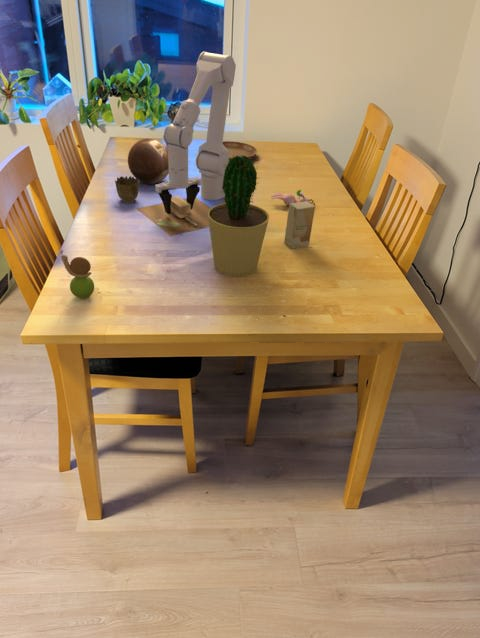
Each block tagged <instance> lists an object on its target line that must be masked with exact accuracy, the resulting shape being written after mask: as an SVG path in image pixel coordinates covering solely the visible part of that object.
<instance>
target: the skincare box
mask: <svg viewBox="0 0 480 638" xmlns="http://www.w3.org/2000/svg"><path fill="white" fill-rule="evenodd" d="M315 209H316V205H315V206H314V204H313V203H312V204H311V203H309V202H308V201H305V202H297V203H290V204H289V205H288V210H287V212H288V213H287V217H286V219H287V220H286V224H285V225H286V227H285V233H284V241H283V242H284V244H285V245H286V246H288V247H289V248H290V249H297V248H298V249H299V248H304V247H309V246H308V245H310V240H311V235H312V227H313V223H314V222H313V221H314V217H315V216H314V215H315Z"/></svg>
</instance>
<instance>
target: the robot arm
mask: <svg viewBox="0 0 480 638" xmlns="http://www.w3.org/2000/svg"><path fill="white" fill-rule="evenodd" d="M236 67H237V65H236V62H235V60H234V57H233V56H232V55H231V54H229V55H225V54H219V53H212V52H207V51H202V52H201V53H200V54H199V56H198V58H197V62H196V77H195V79H194V82H193V85H192V87H191V91H190V93H189V95H188V98H187V99H186V100H183V101H181V103H180V105H179V108H178V111H177V112H176V115H175V116H174V119H173V121H172V123H170V124H168V125H167V126H166V127H165V129H164V131H163V136H162V138H163V142H164V143H165V146H166V149H167V150H168V164H169V174H168V180H166V181H162V182H161V183H160V182H159V183H158V184H157V183H155V186H154V187H155V192H156V193H157V194H158V196H159V197H160V199H161V202H162V203H163V205H164V208H165V212H166V213H167V214H171V198H172V197H173V195H172V194H171V193H170V191H171V190H173V191H174V190H178V189H185V193H186V195H185V196H186V198H187V203H189V204H190V205H191V210H192V208H193V204H194V201H195V198H197V196H198V195H199V192H200V196H201V198H202V199H203V200H208V201H217V200H221V199H225V197H223V196H225V193H224V191H223V193H224V194H223V193H222V190H223V189H222V188H221V187H222V186H223V178H224V173H225V169H226V167H227V166H225V165H226V164H227V165H228V162H229V151H228V150H227V148H226V147H225V146H224V145H223V144H222V143H223V142H224V135H225V126H226V119H227V113H228V112H227V111H228V107H229V106H228V105H229V99H230V91H231V87H233V86H234V82H235V75H236ZM211 87H212V95H211V99H210V100H211V101H210V110H209V118H208V125H207V134H206V139H205V140H206V141H205V142H203V143H202V144H201V145H199V146H198V152H197V154H196V156H195V165H196V168H197V169H198V172H199V174H200V178H199V176H197V177H189V146H190V145H191V143H192V142H193V138H194V137H193V134H194V127H195V125H196V122H197V121H198V118H199V116H200V114H201V109H200V104H201V103H202V101H203V99H204V97H205V96H206V95H207V93H208V91H209V88H211ZM208 151H211V152H208ZM212 152H215V153H212ZM216 153H218V154H216ZM223 162H224V163H223ZM222 164H223V165H222ZM223 166H224V167H223ZM224 168H225V169H224ZM221 170H224V171H221ZM221 175H223V176H221ZM222 177H223V178H222ZM199 186H200V187H199ZM219 191H220V192H219ZM219 194H220V195H219Z"/></svg>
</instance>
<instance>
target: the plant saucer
mask: <svg viewBox="0 0 480 638" xmlns="http://www.w3.org/2000/svg"><path fill="white" fill-rule="evenodd" d="M222 144H223V145H224V146H225V147H226V148H227V150H228V151H229V161H230V159H232V157H236V156H241V157H242V155H243V156H244V155H245V156H247V155H248V159H250V160H253V158H254V157H255V156H257V155H256V154H257V153H258V150H257V148H256V147H255V146H253V145H251V144H248V143H244V142H240V141H230V140H228V141H226V140H225V141H224V140H223V143H222ZM208 152H211V151H208ZM212 153H215V152H212ZM216 154H218V153H216ZM249 154H250V155H249Z"/></svg>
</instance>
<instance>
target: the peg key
mask: <svg viewBox="0 0 480 638" xmlns="http://www.w3.org/2000/svg"><path fill="white" fill-rule="evenodd" d="M183 199H184V198H181V197H180V196H179V195H174V196H172V198H171V212H172V215H173V216H175V217H179V218H184V217H186V218H185V219H186V220H188V221H189V222H190V223H192V224H193V225H195V226H197V224H196V223H194V222H193V221H192V220H190V219H189V218H188V216H191V205H190V204H189V203H187V202H186V201H184V200H183Z"/></svg>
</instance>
